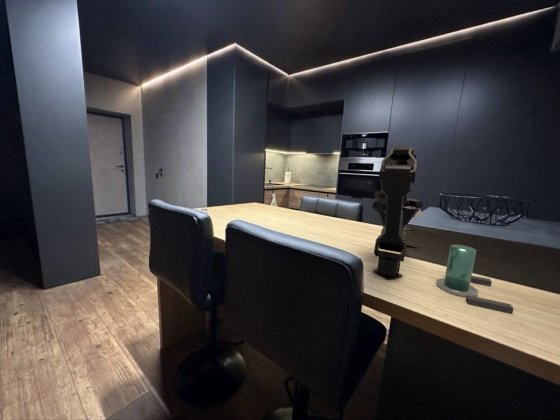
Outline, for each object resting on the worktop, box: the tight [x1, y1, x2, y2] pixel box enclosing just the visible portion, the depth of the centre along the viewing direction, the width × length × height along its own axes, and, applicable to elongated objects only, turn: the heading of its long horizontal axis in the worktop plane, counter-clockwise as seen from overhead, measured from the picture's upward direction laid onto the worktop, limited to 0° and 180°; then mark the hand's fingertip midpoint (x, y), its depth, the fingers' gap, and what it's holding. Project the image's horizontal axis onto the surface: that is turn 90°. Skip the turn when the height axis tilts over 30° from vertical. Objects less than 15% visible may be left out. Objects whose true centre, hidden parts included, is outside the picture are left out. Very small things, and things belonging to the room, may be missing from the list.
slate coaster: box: [435, 277, 479, 298], centre depth 71 cm, size 10×10×1 cm
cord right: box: [465, 295, 514, 314], centre depth 62 cm, size 9×2×2 cm, turn 64°
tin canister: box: [444, 244, 477, 292], centre depth 69 cm, size 6×6×12 cm
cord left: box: [470, 275, 493, 287], centre depth 75 cm, size 9×2×2 cm, turn 64°
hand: (394, 227), depth 87 cm, fingers open, 9 cm apart
